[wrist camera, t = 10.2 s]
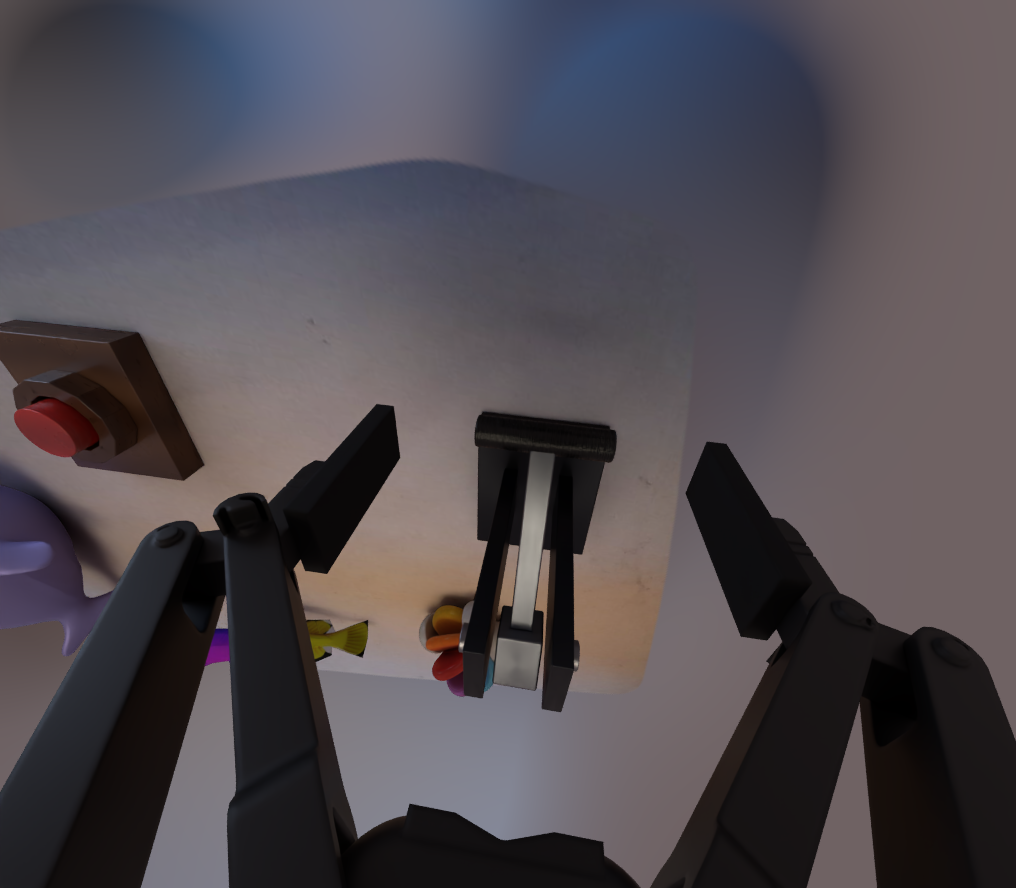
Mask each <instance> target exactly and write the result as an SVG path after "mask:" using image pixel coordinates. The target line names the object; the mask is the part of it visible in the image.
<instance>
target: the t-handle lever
mask: <svg viewBox="0 0 1016 888" xmlns="http://www.w3.org/2000/svg"><path fill="white" fill-rule="evenodd" d="M616 443H617V436H616V431H615V430H611V429H602V428H593V427H585V426H576V425H567V424H558V423H550V422H541V421H532V420H524V419H515V418H506V417H497V416H489V415H479V416H478V418H477V422H476V427H475V445H476V446H477V447H484V448H493V449H501V450H509V451H517V452H525V453H530V456H529V465H528V474H527V483H526V491H525V500H524V509H523V518H522V526H521V535H520V544H519V552H518V561H517V570H516V579H515V587H514V596H513V605H512V607H511V606H505V605H504V606H503V607H502V612H501V618H500V623H499V629H498V634H497V641H496V650H495V660H494V669H493V679H492V682H493V684H498V685H504V686H510V687H516V688H522V689H528V690H533V691H535V690H536V689H537V682H538V675H539V668H540V660H541V653H542V646H543V617H544V613H543V612H542V611H537V610H535V605H536V598H537V590H538V582H539V575H540V567H541V560H542V552H543V544H544V537H545V529H546V522H547V514H548V507H549V499H550V491H551V484H552V476H553V469H554V461H555V456H558V457H567V458H575V459H583V460H591V461H600V462H608V463H610V462H612V460H613V458H614V455H615V451H616Z"/></svg>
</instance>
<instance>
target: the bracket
mask: <svg viewBox="0 0 1016 888" xmlns="http://www.w3.org/2000/svg"><path fill="white" fill-rule="evenodd" d="M481 415H489V416H497V417H506V418H515V419H524V420H532V421H541V422H550V423H558V424H567V425H576V426H585V427H593V428H602V429H610V427H609V426H601V425H593V424H584V423H575V422H566V421H557V420H549V419H540V418H531V417H522V416H514V415H505V414H496V413H487V412H482V414H481ZM529 456H530V453H525V452H517V451H509V450H501V449H493V448H484V447H478V526H477V539H478V540H482V541H488V543H487V547H486V551H485V556H484V560H483V564H482V569H481V573H480V577H479V581H478V586H477V590H476V594H475V599H474V603H473V607H472V612H471V616H470V620H469V623H466V622H464V623H463V626H462V629H461V633H460V638H459V647H458V650H459V652H462V653H463V687H464V695H465V696H471V697H477V698H483V694H484V688H485V682H486V676H487V670H488V665H489V659H490V653H491V647H492V641H493V635H494V629H495V624H496V618H497V612H498V606H499V600H500V594H501V589H502V583H503V577H504V571H505V565H506V559H507V553H508V548H509V544H510V545H517V546H519V544H520V535H521V526H522V518H523V509H524V500H525V491H526V483H527V474H528V465H529ZM604 464H605V462H600V461H591V460H583V459H575V458H567V457H558V456H555V461H554V469H553V476H552V484H551V491H550V499H549V507H548V514H547V522H546V529H545V537H544V544H543V549H545V550H550V565H549V583H548V601H547V619H546V637H545V655H544V673H543V691H542V709H545V710H551V711H556V712H561V711H562V708H563V704H564V701H565V698H566V695H567V691H568V688H569V685H570V682H571V678H572V675H573V672H574V671H577V670H578V666H579V657H580V646H579V641H578V640H574V563H573V554H581V555H582V553H583V549H584V545H585V541H586V537H587V533H588V529H589V525H590V521H591V517H592V513H593V509H594V504H595V500H596V496H597V492H598V488H599V484H600V480H601V476H602V472H603V468H604Z"/></svg>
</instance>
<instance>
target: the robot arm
mask: <svg viewBox="0 0 1016 888" xmlns="http://www.w3.org/2000/svg"><path fill="white" fill-rule="evenodd" d="M399 459H400V452H399V444H398V436H397V428H396V420H395V412H394V406H389V405H380V404H376V405H375V407H374V408H373V409H372V410H371V411H370V412H369V413H368V414H367V415H366V417H365V418H364V419H363V420H362V421H361V422H360V423H359V424H358V425H357V427H356V428H355V429H354V430H353V431H352V432H351V433H350V434H349V436H348V437H347V438H346V439H345V440H344V441H343V442H342V443H341V444H340V446H339V447H338V448H337V449H336V450H335V451H334V452H333V453H332V454H331V456H330V457H329V458H328V459H327V460H326V461H325V462H324V461H317V460H315V461H313V462H312V463H310V464H308V465H307V466H305V467H303V468H302V469H301V470H300V471H299V472H298V473H297V474H296V475H295V476H294V477H293V479H291V480H290V481H289V482H288V483H287V484H286V487H284V488H283V489H282V490H281V491H280V492H279V493H278V494H277V495H276V496H275V497H274V498H273V499H272V500H271V501H270V502H269V503H267V501H266V499H265V497H264V496H263V495H261V494H258V493H243V494H238V495H236V496H233V497H230V498H228V499H227V500H225V501H223V502H222V503H220V504H219V505H218V507H217V508H216V509H215V510H214V513H213V517H214V519H215V521H216V523H217V525H218V527H219V529H220V530H214V531H205V532H199V530H198V528H197V527H196V525H195V524H194V523H193V522H189V521H175V522H172V523H168V524H165V525H163V526H161V527H158V528H156V529H155V530H153V531H152V532H150V533H149V534H148V535H146V537H145V538H144V539H143V540H142V541H141V543H140V544H139V546H138V548H137V550H136V552H135V553H134V555H133V557H132V559H131V560H130V562H129V564H128V566H127V568H126V569H125V571H124V573H123V575H122V576H121V578H120V580H119V582H118V584H117V585H116V587H115V589H114V591H113V592H112V594H111V596H110V598H109V600H108V601H107V603H106V605H105V607H104V608H103V610H102V612H101V614H100V616H99V617H98V619H97V621H96V623H95V624H94V626H93V628H92V630H91V632H90V633H89V635H88V637H87V639H86V641H85V642H84V644H83V646H82V648H81V649H80V651H79V653H78V655H77V656H76V658H75V660H74V662H73V664H72V666H71V667H70V669H69V671H68V672H67V675H66V676H65V678H64V680H63V681H62V683H61V685H60V687H59V689H58V690H57V692H56V694H55V696H54V697H53V699H52V701H51V703H50V705H49V706H48V708H47V710H46V712H45V714H44V715H43V717H42V719H41V721H40V722H39V724H38V726H37V728H36V729H35V731H34V733H33V735H32V737H31V738H30V740H29V742H28V744H27V745H26V747H25V749H24V751H23V753H22V754H21V756H20V758H19V760H18V761H17V763H16V765H15V767H14V769H13V771H12V772H11V774H10V776H9V777H8V779H7V781H6V783H5V785H4V786H3V788H2V790H1V792H0V888H141V885H142V881H143V878H144V874H145V870H146V867H147V864H148V860H149V857H150V854H151V850H152V846H153V843H154V840H155V836H156V833H157V829H158V826H159V822H160V819H161V815H162V812H163V809H164V805H165V802H166V798H167V795H168V791H169V788H170V784H171V781H172V778H173V774H174V771H175V767H176V764H177V760H178V757H179V753H180V750H181V747H182V743H183V740H184V736H185V732H186V729H187V726H188V722H189V719H190V715H191V712H192V709H193V705H194V702H195V698H196V695H197V691H198V688H199V684H200V681H201V678H202V674H203V671H204V667H205V664H206V660H207V657H208V653H209V650H210V646H211V643H212V640H213V636H214V633H215V629H216V626H217V622H218V619H219V615H220V612H221V609H222V605H223V602H224V598H225V595H226V598H227V617H228V636H229V655H230V673H231V693H232V711H233V731H234V749H235V768H236V792H235V796H234V797H233V799H232V800H231V802H230V803H229V809H228V813H227V838H228V868H229V888H640V887H639V885H638V884H637V883H636V882H635V881H634V879H632V878H631V877H630V876H629V875H628V874H627V873H626V872H625V871H624V870H623V869H622V868H621V867H620V866H618V865H617V864H616V863H615V862H613V861H612V860H611V859H609V858H607V857H605V856H604V847H603V842H601V841H596V840H591V839H586V838H581V837H576V836H571V835H566V834H561V833H555V832H553V833H548V834H542V835H536V836H530V837H524V838H518V839H512V840H500V839H498V838H496V837H495V836H493V835H492V834H490V833H488V832H487V831H485V830H483V829H482V828H480V827H478V826H477V825H475V824H473V823H472V822H470V821H468V820H467V819H465V818H463V817H462V816H460V815H458V814H457V813H454V812H449V811H444V810H439V809H434V808H429V807H423V806H419V805H414V804H409V808H408V812H407V816H402V817H397V818H394V819H392V820H389V821H386V822H384V823H382V824H380V825H378V826H376V827H374V828H373V829H371V830H370V831H368V832H367V833H365V834H364V835H362V836H361V837H360V838H359V839H358V837H357V832H356V828H355V824H354V820H353V816H352V813H351V809H350V806H349V803H348V800H347V797H346V793H345V790H344V786H343V782H342V778H341V773H340V769H339V765H338V760H337V756H336V751H335V747H334V742H333V738H332V733H331V729H330V724H329V720H328V715H327V711H326V707H325V702H324V698H323V693H322V689H321V684H320V680H319V675H318V671H317V667H316V662H315V658H314V653H313V649H312V644H311V640H310V635H309V631H308V627H307V622H306V618H305V613H304V609H303V604H302V600H301V596H300V591H299V587H298V582H297V578H296V574H295V571H294V567H295V566H296V565H297V563H298V562H299V561H300V559H301V561H302V564H303V567H304V569H305V571H311V572H318V573H324V574H327V573H328V572H329V570H330V568H331V567H332V565H333V564H334V562H335V561H336V559H337V557H338V556H339V554H340V553H341V551H342V549H343V548H344V546H345V545H346V543H347V541H348V540H349V538H350V537H351V535H352V534H353V532H354V530H355V529H356V527H357V526H358V524H359V522H360V521H361V519H362V518H363V516H364V514H365V513H366V511H367V510H368V508H369V507H370V505H371V503H372V502H373V500H374V499H375V497H376V495H377V494H378V492H379V491H380V489H381V487H382V486H383V484H384V483H385V481H386V480H387V478H388V476H389V475H390V473H391V472H392V470H393V468H394V467H395V465H396V464H397V462H398V460H399ZM686 496H687V498H688V501H689V503H690V506H691V508H692V511H693V513H694V516H695V519H696V521H697V524H698V527H699V529H700V532H701V534H702V537H703V540H704V542H705V545H706V548H707V550H708V553H709V555H710V558H711V560H712V563H713V566H714V568H715V571H716V573H717V576H718V579H719V581H720V584H721V586H722V589H723V592H724V594H725V597H726V599H727V602H728V605H729V607H730V610H731V612H732V615H733V618H734V620H735V623H736V625H737V628H738V630H739V633H740V636H741V637H747V638H754V639H760V640H768V639H769V638H770V636H771V635H772V634H773V633H774V631H775V630H776V629H777V631H778V633H779V635H780V637H781V640H782V643H781V644H780V646H779V647H778V648H777V649H776V650H775V651H774V653H773V654H772V655H771V656H770V658H769V659H768V660H767V662H768V663H769V665H768V667H767V669H766V671H765V673H764V675H763V677H762V679H761V682H760V683H759V685H758V687H757V689H756V691H755V693H754V695H753V697H752V698H751V700H750V703H749V704H748V706H747V708H746V710H745V712H744V715H743V716H742V718H741V720H740V722H739V724H738V726H737V728H736V730H735V732H734V734H733V736H732V738H731V739H730V741H729V743H728V745H727V747H726V749H725V751H724V753H723V755H722V757H721V759H720V761H719V763H718V765H717V767H716V769H715V771H714V773H713V775H712V777H711V779H710V780H709V783H708V784H707V786H706V788H705V790H704V792H703V794H702V796H701V798H700V800H699V802H698V804H697V806H696V808H695V810H694V812H693V814H692V816H691V818H690V820H689V822H688V823H687V825H686V827H685V829H684V831H683V833H682V835H681V837H680V839H679V841H678V843H677V845H676V847H675V849H674V851H673V852H672V854H671V856H670V857H669V859H668V860H667V862H666V863H665V864H664V866H663V867H662V869H661V870H660V872H659V873H658V875H657V877H656V878H655V880H654V882H653V883H652V885H651V887H650V888H806V887H807V884H808V881H809V877H810V874H811V870H812V867H813V863H814V859H815V856H816V852H817V849H818V845H819V842H820V839H821V835H822V832H823V828H824V825H825V821H826V818H827V814H828V811H829V807H830V804H831V800H832V796H833V793H834V790H835V786H836V783H837V779H838V776H839V772H840V769H841V765H842V762H843V758H844V755H845V751H846V748H847V744H848V740H849V737H850V733H851V730H852V727H853V723H854V719H855V716H856V713H857V709H858V706H859V702H860V712H861V721H862V732H863V743H864V754H865V764H866V775H867V786H868V796H869V807H870V817H871V828H872V838H873V849H874V859H875V869H876V880H877V888H1016V741H1015V738H1014V735H1013V732H1012V730H1011V727H1010V725H1009V722H1008V719H1007V717H1006V714H1005V711H1004V709H1003V706H1002V704H1001V701H1000V698H999V696H998V693H997V690H996V688H995V685H994V682H993V680H992V677H991V675H990V672H989V669H988V667H987V666H986V664H985V662H984V661H983V659H982V658H981V657H980V656H979V655H978V654H977V653H976V652H975V651H974V650H973V649H972V648H971V647H970V646H968V645H967V644H966V643H964V642H963V641H961V640H960V639H959V638H957V637H955V636H953V635H951V634H949V633H947V632H945V631H942V630H940V629H936V628H933V627H922V628H920V629H918V630H917V631H916V632H915V633H913V634H912V635H909V634H907V633H904V632H901V631H899V630H896V629H893V628H891V627H888V626H885V625H882V624H880V623H878V622H877V621H876V619H875V617H874V616H873V615H872V614H871V613H870V612H869V611H868V610H867V609H866V608H865V607H864V606H863V605H861V604H860V603H858V602H857V601H855V600H854V599H852V598H850V597H847V596H845V595H843V594H840V593H839V592H838V590H837V589H836V587H835V586H834V584H833V583H832V581H831V580H830V578H829V577H828V575H827V574H826V572H825V571H824V569H823V568H822V566H821V565H820V563H819V562H818V560H817V559H816V557H813V553H812V551H811V550H810V549H809V547H808V546H806V542H805V541H804V539H803V538H802V536H801V535H800V534H799V532H798V531H797V530H796V529H795V528H794V527H793V526H791V525H790V524H789V523H788V522H787V521H786V520H784V519H779V518H772V517H771V515H770V513H769V512H768V510H767V509H766V507H765V505H764V504H763V502H762V501H761V499H760V497H759V496H758V494H757V493H756V491H755V490H754V488H753V486H752V484H751V483H750V481H749V480H748V478H747V477H746V475H745V473H744V472H743V470H742V468H741V467H740V465H739V464H738V462H737V460H736V459H735V457H734V455H733V454H732V452H731V451H730V449H729V447H728V446H727V444H723V443H714V442H706V445H705V447H704V450H703V452H702V454H701V457H700V459H699V462H698V464H697V467H696V469H695V471H694V474H693V476H692V479H691V481H690V484H689V486H688V489H687V491H686Z"/></svg>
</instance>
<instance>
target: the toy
mask: <svg viewBox="0 0 1016 888" xmlns="http://www.w3.org/2000/svg"><path fill="white" fill-rule="evenodd" d="M306 622H307V627H308V631H309V635H310V640H311V644H312V649H313V653H314V658H315V662H317V661H319V660H322V659H324V658H326V657H329V656H331V655H332V647H334V648H337V649H339V650H342V651H345V652H347V653H350V654H353V655H356V656H359V657H362V658H363V654H364V650H365V647H366V643H367V639H368V620H367V621H364V622H361V623H358V624H355V625H353V626H350V627H347V628H345V629H342V630H339V631H337V632H335V630H334V628H333V626H332V623H331V621H330V620H306ZM224 661H229V662H230V655H229V636H228V629H215V633H214V636H213V640H212V643H211V646H210V650H209V653H208V657H207V660H206V664H205V666H207V665H209V664H212V663H216V662H224Z"/></svg>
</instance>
